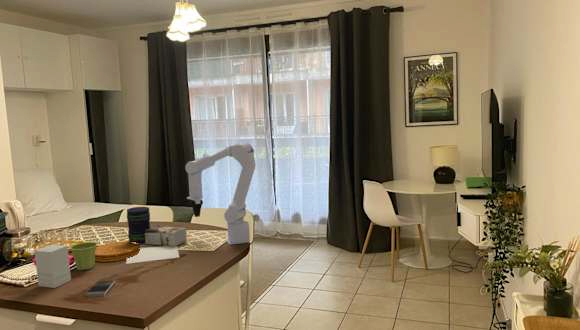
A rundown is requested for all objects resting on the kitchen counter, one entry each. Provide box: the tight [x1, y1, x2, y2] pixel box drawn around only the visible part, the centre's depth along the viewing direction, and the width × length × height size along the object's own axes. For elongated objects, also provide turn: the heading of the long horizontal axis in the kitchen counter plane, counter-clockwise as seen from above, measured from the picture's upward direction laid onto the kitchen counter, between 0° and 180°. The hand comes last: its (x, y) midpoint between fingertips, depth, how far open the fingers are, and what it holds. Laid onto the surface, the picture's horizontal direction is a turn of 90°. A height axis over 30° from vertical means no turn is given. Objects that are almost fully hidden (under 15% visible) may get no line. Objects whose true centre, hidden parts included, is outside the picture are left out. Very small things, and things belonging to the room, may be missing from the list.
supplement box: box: [34, 244, 72, 289], centre depth 148 cm, size 7×7×13 cm
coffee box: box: [144, 225, 188, 247], centre depth 192 cm, size 9×6×16 cm
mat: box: [125, 245, 180, 265], centre depth 177 cm, size 20×18×1 cm
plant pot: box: [69, 241, 98, 271], centre depth 163 cm, size 9×9×9 cm
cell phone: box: [85, 280, 116, 298], centre depth 142 cm, size 6×11×1 cm, turn 5°
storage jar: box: [126, 206, 151, 245], centre depth 195 cm, size 10×10×15 cm
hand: (197, 216), depth 197 cm, fingers closed
